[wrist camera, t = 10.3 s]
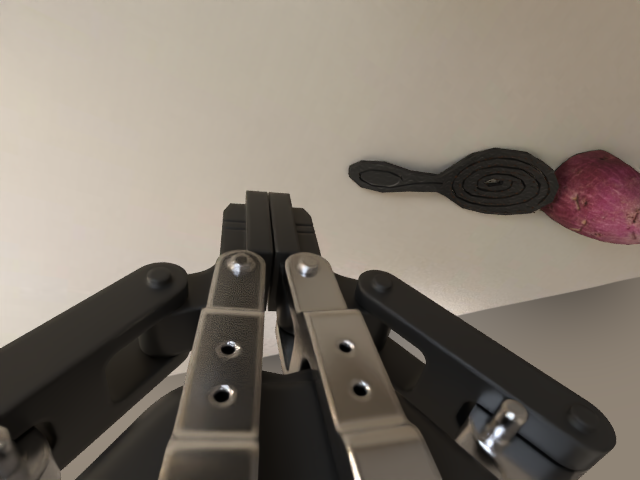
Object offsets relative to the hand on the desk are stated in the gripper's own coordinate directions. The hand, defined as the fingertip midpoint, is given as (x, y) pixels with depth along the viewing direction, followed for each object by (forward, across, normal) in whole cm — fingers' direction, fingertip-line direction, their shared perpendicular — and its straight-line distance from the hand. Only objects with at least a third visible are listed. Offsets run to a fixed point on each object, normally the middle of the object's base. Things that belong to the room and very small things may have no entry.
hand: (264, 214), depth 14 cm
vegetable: (+27, -42, +9) cm, 51 cm away
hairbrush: (+27, -24, +10) cm, 37 cm away
